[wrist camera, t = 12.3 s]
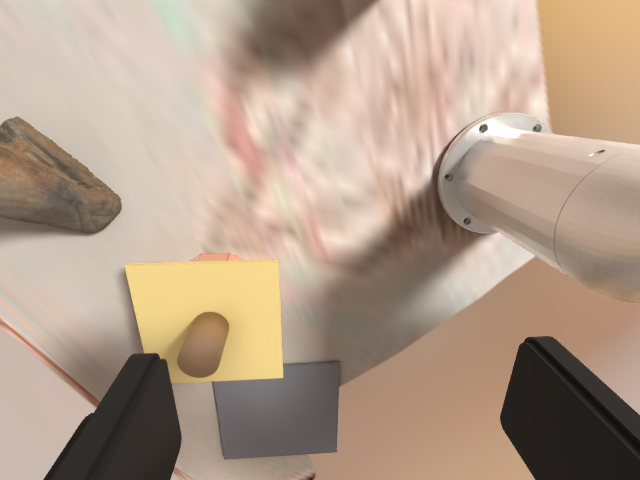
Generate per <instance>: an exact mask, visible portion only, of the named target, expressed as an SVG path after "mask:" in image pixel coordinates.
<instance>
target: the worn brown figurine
mask: <svg viewBox="0 0 640 480" xmlns="http://www.w3.org/2000/svg"><path fill="white" fill-rule="evenodd" d="M120 200H121V199H120V198H119V196H118V195H117V194H116V193H114V192H113V191H112V190H111V188H109V187H108V186H107V185H106V184H104V183H103V182H102V181H101V180H99V179H98V178H96V177H94V175H93V173H91V172H89V170H88V168H87V167H85V166H84V165H82V164H81V163H80V162H78V160H76V159H75V158H72V156H71V155H70V154H68V153H66V152H65V151H64V150H63V149H62V148H60V147H58V146H57V144H55V143H54V142H53V141H52V140H50V139H49V138H47V137H46V136H45V135H43V134H41V133H40V132H38V131H37V130H36V129H34V127H32V126H31V125H30V124H29V123H27V122H25V121H24V120H23V119H21V118H20V117H15V118H12V119H8V120H6V121H4V122H3V123H2V124H1V125H0V217H2V218H8V219H14V220H19V221H24V222H32V223H39V224H48V225H51V226H55V227H60V228H64V229H70V230H75V231H81V232H86V233H91V232H96V231H98V230H100V229H102V228H104V227H105V226H106V225H108V224H109V223H110V222H111V221H113V220H114V219H115V217H116V216H117V215H118V214H119V213H120V211H121V207H122V206H121V201H120Z"/></svg>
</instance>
